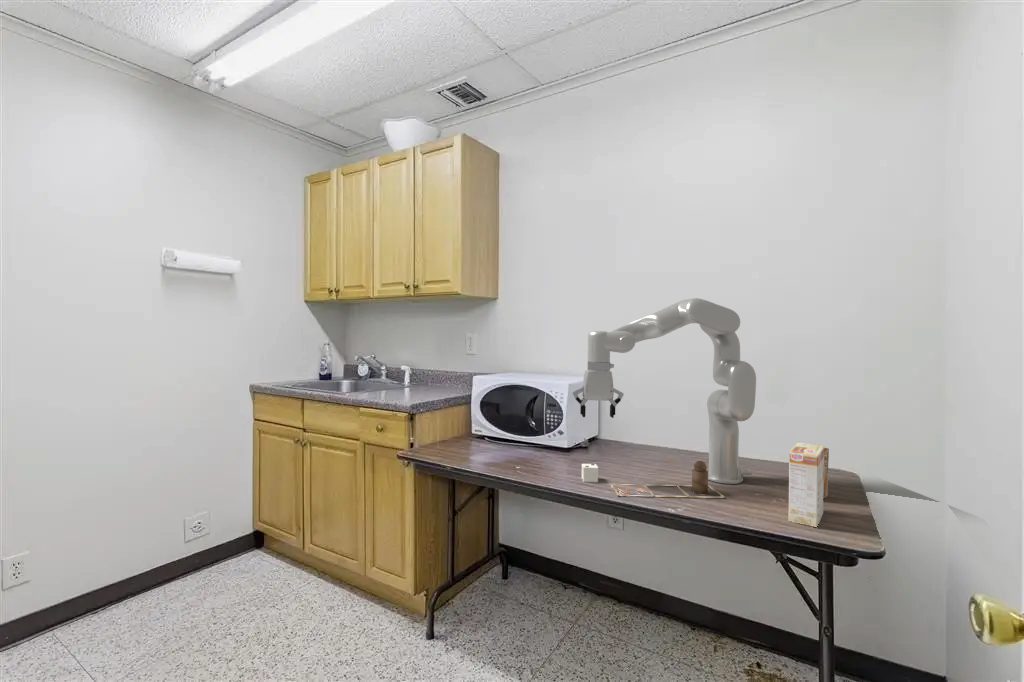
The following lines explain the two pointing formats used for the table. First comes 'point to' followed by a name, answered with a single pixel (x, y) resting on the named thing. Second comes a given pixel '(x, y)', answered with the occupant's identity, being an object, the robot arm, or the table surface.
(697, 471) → the pawn
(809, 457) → the coffeecake box
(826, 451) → the candy box
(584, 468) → the die
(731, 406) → the robot arm
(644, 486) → the board
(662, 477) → the table surface
